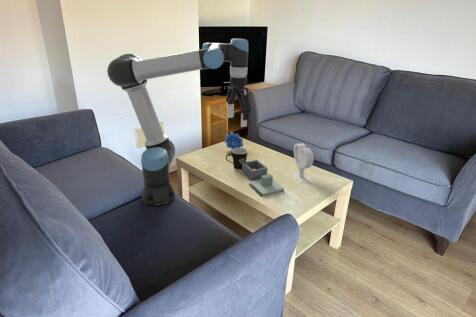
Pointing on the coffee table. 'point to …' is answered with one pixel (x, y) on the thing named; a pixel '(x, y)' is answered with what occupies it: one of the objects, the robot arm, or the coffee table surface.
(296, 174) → the heart sculpture
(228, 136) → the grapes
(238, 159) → the coffee mug
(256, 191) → the mat
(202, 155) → the coffee table surface
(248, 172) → the grey open box
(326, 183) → the coffee table surface
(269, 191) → the lid
